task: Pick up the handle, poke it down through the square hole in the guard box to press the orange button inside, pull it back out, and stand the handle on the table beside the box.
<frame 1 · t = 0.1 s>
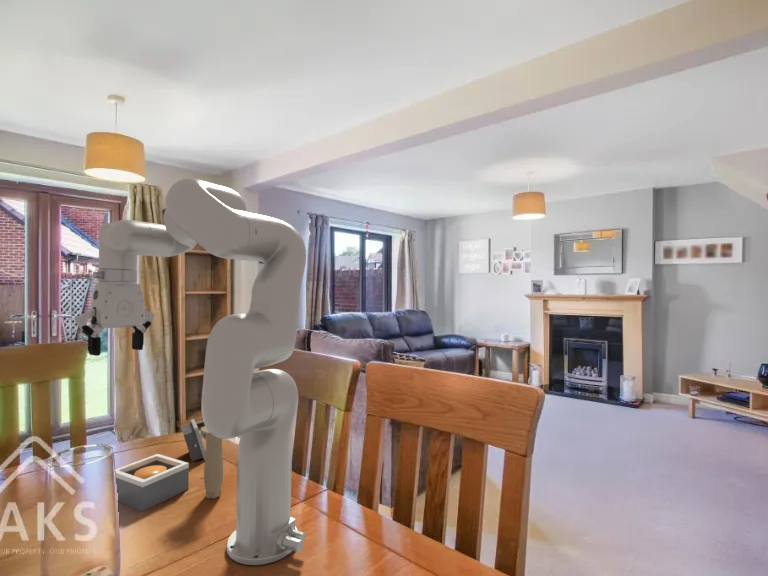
hand: (116, 352, 97), 31 cm above the table, tool pointing down, fingers open, 9 cm apart
electrical switch: (194, 457, 116), on the table
guard box: (150, 493, 95), on the table
handle: (213, 496, 94), on the table
button: (150, 475, 95), point 4 cm above the table, slide at 0.0 cm
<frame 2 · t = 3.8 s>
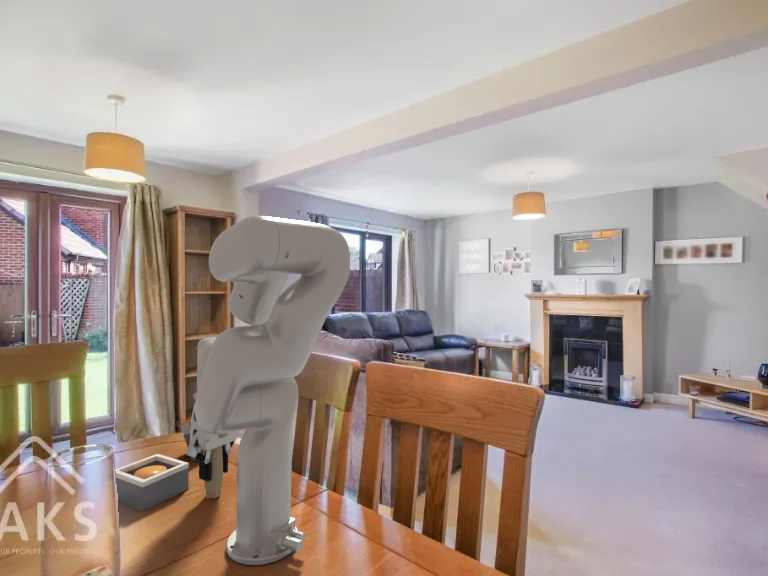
hand: (213, 474, 94), 5 cm above the table, tool pointing down, fingers closed on handle, 3 cm apart
handle: (213, 496, 94), on the table, touching gripper
everything else where it was.
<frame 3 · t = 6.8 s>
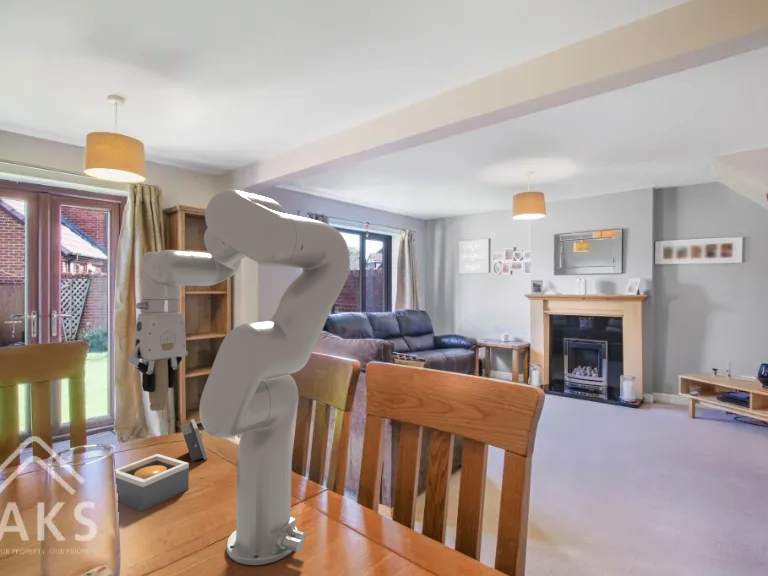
hand: (158, 388, 95), 24 cm above the table, tool pointing down, fingers closed on handle, 3 cm apart
handle: (158, 410, 95), point 19 cm above the table, touching gripper
everything else where it was.
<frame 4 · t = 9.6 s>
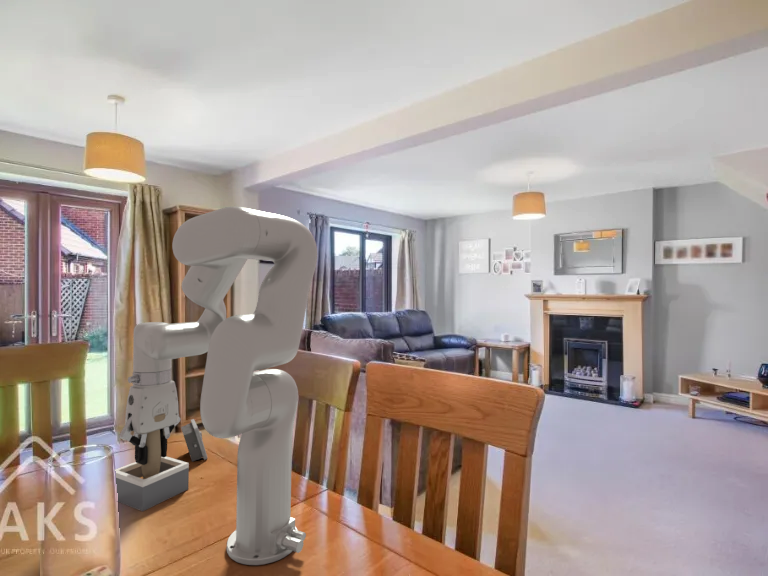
hand: (151, 458, 95), 8 cm above the table, tool pointing down, fingers closed on handle, 3 cm apart
handle: (150, 480, 95), point 3 cm above the table, touching gripper
button: (150, 484, 95), point 2 cm above the table, slide at 1.9 cm
everything else where it was.
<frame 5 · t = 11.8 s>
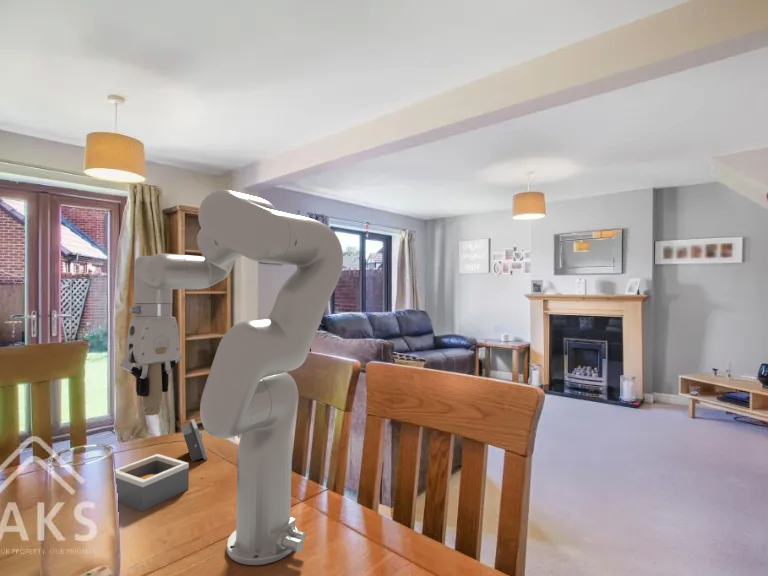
hand: (152, 392, 95), 23 cm above the table, tool pointing down, fingers closed on handle, 3 cm apart
handle: (152, 414, 95), point 18 cm above the table, touching gripper
everything else where it was.
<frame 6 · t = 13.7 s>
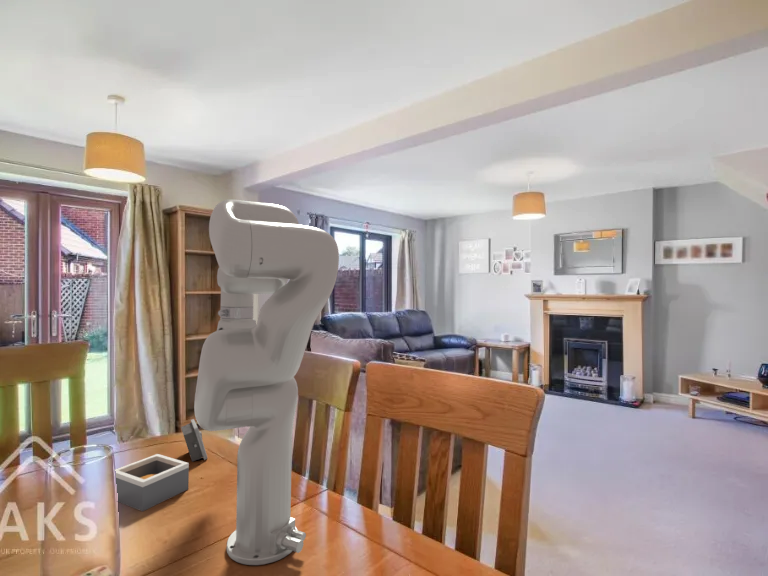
hand: (235, 389, 102), 22 cm above the table, tool pointing down, fingers closed on handle, 3 cm apart
handle: (235, 409, 102), point 17 cm above the table, touching gripper
everything else where it was.
when the fingers open (6 cm above the table, at t = 16.8 s): handle stays where it is, on the table.
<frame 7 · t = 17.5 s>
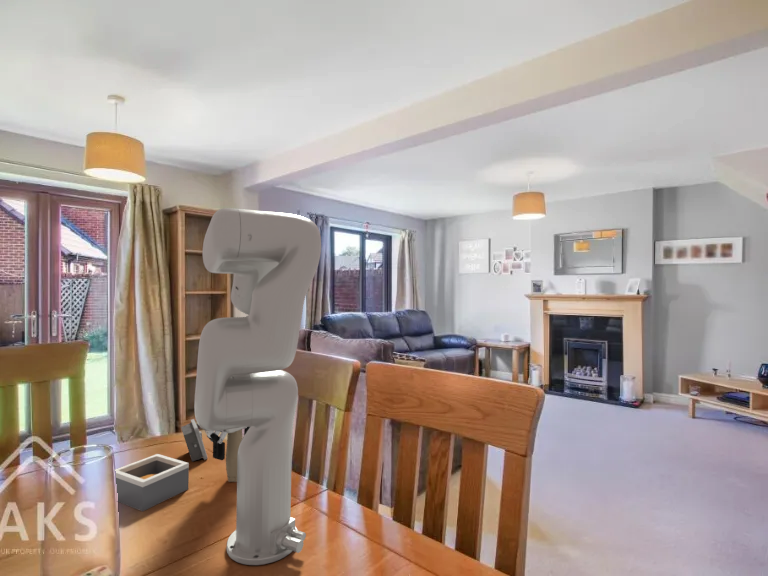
hand: (234, 451, 102), 7 cm above the table, tool pointing down, fingers open, 9 cm apart
handle: (234, 480, 102), on the table
everything else where it was.
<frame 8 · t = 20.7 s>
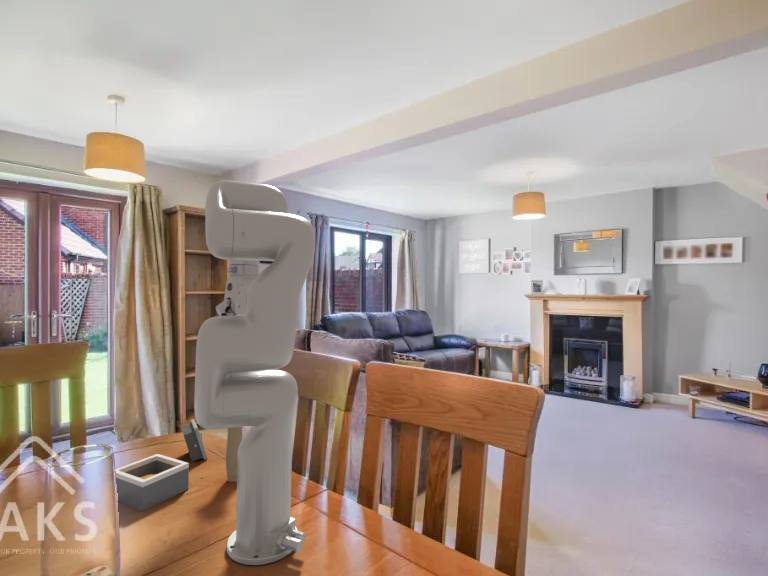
hand: (243, 337, 112), 33 cm above the table, tool pointing down, fingers open, 9 cm apart
nothing on the table moved.
at the end: button slide at 1.9 cm; handle inside the target area (0.1 cm from its centre), on the table; handle tilted 0° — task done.
